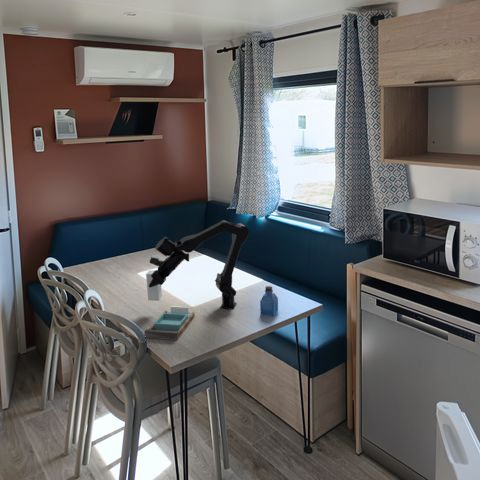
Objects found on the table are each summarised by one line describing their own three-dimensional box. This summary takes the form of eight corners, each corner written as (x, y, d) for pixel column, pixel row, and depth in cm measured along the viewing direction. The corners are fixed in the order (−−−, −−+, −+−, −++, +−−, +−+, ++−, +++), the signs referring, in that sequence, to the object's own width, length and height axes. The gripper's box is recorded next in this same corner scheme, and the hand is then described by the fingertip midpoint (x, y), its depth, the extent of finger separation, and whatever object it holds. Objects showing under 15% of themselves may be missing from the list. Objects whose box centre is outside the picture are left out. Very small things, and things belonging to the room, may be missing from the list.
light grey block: (151, 296, 233) (149, 270, 230) (162, 296, 232) (160, 270, 229) (148, 300, 228) (146, 274, 225) (159, 300, 227) (157, 274, 224)
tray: (168, 313, 229) (167, 305, 228) (192, 314, 227) (191, 307, 226) (154, 329, 213) (153, 321, 212) (179, 331, 211) (179, 322, 210)
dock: (165, 314, 229) (164, 308, 228) (194, 316, 226) (194, 310, 225) (144, 337, 207) (144, 331, 206) (177, 340, 204) (177, 333, 203)
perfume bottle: (260, 314, 226) (259, 289, 223) (264, 309, 232) (264, 284, 229) (273, 316, 224) (273, 290, 221) (278, 310, 229) (277, 285, 226)
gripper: (165, 243, 233) (143, 266, 237) (153, 255, 215) (131, 279, 219) (183, 259, 234) (161, 282, 238) (173, 272, 216) (150, 296, 220)
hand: (151, 284), depth 229 cm, fingers closed on light grey block, 5 cm apart
